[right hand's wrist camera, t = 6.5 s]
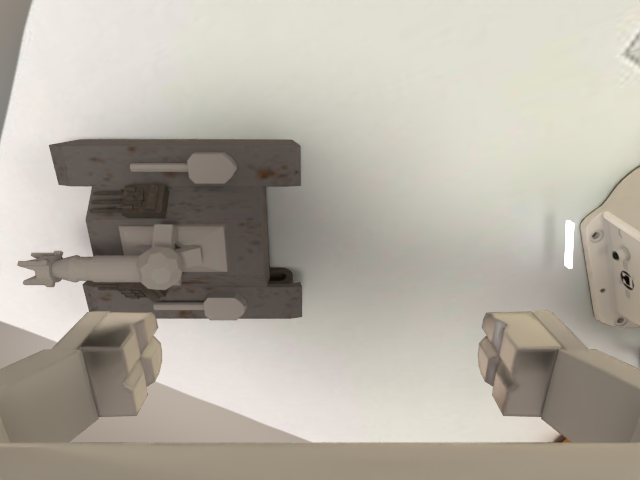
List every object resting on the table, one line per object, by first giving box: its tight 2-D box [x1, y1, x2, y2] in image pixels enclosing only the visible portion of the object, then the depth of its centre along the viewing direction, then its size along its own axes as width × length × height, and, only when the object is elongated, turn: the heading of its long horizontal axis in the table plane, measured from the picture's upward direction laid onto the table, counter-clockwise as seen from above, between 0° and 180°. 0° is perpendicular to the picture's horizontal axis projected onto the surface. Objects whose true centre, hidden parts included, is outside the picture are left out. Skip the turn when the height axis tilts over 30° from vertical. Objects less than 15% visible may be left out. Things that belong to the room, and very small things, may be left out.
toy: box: [18, 140, 302, 320], centre depth 44 cm, size 25×20×15 cm
